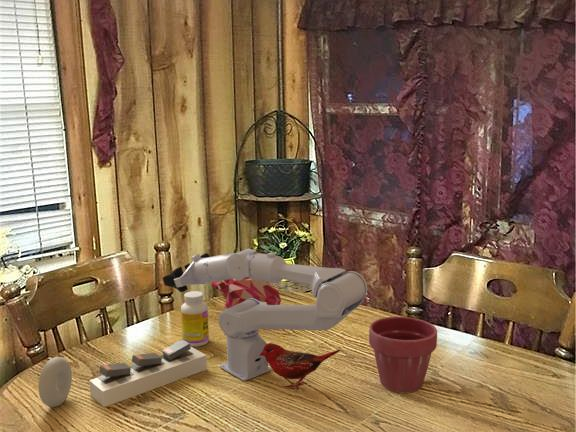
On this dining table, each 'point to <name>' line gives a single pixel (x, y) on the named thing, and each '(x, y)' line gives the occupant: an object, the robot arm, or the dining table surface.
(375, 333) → the plant pot
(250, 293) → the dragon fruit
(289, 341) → the dining table surface
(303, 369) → the decorative bird figurine
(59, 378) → the grey round disc
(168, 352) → the block
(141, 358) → the rocker
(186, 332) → the supplement bottle
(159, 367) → the rocker switch panel
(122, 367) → the rocker
